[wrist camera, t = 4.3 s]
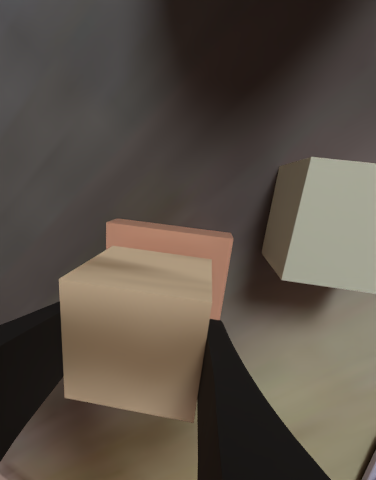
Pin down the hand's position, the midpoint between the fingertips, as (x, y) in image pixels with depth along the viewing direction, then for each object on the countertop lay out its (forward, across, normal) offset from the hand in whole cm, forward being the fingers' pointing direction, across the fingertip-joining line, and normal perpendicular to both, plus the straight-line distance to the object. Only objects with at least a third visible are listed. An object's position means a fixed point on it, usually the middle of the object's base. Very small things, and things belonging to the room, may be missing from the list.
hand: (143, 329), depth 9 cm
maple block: (+2, 0, 0) cm, 2 cm away
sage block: (+5, -8, -5) cm, 11 cm away
